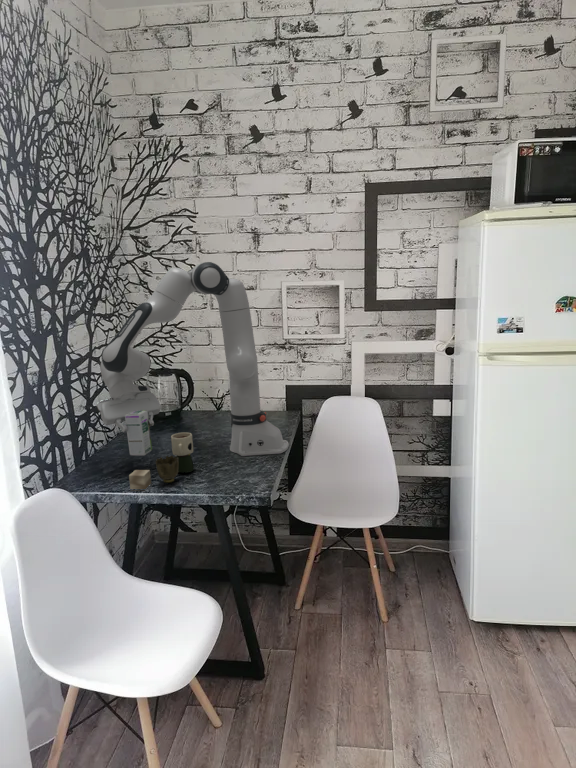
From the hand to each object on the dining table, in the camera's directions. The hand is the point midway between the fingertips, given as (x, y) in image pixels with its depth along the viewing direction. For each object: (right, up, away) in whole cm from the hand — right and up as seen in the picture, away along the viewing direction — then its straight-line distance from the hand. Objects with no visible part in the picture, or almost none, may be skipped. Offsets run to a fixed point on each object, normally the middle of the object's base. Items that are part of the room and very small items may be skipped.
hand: (138, 428), depth 189 cm
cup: (+12, -17, -7) cm, 22 cm away
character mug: (+15, -15, +2) cm, 22 cm away
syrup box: (0, -9, +2) cm, 9 cm away
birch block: (+3, -18, -10) cm, 21 cm away
